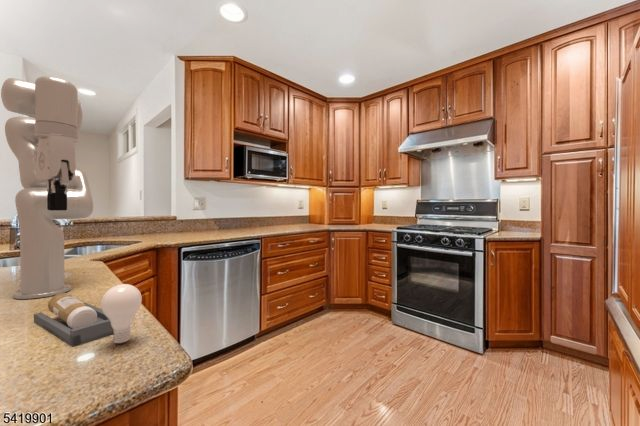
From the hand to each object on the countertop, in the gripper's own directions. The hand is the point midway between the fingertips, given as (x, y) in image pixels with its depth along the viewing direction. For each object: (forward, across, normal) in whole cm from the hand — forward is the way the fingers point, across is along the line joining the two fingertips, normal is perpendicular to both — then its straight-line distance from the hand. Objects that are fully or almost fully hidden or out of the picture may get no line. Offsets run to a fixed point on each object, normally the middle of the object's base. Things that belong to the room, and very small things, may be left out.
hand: (57, 210), depth 70 cm
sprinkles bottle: (+21, +6, -1) cm, 22 cm away
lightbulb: (+24, +31, 0) cm, 39 cm away
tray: (+24, +14, 0) cm, 28 cm away
